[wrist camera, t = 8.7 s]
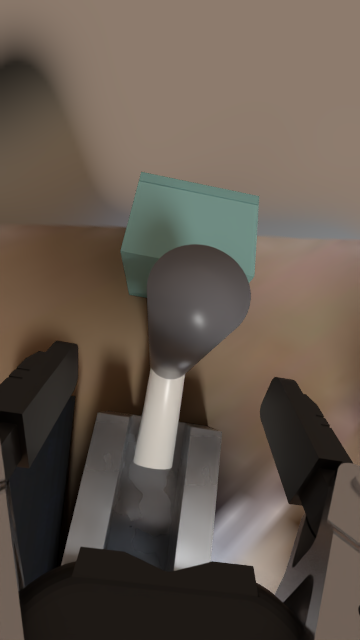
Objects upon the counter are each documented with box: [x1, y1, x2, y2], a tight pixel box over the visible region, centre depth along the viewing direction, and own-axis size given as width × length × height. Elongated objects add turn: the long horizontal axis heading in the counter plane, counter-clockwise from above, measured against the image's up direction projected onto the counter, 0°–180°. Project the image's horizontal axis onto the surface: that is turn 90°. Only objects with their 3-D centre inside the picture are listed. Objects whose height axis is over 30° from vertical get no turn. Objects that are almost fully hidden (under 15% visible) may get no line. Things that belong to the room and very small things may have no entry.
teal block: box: [121, 172, 259, 298], centre depth 21 cm, size 9×7×7 cm
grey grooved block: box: [61, 411, 222, 572], centre depth 16 cm, size 8×13×5 cm, turn 171°
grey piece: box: [133, 244, 251, 469], centre depth 15 cm, size 3×18×14 cm, turn 171°
